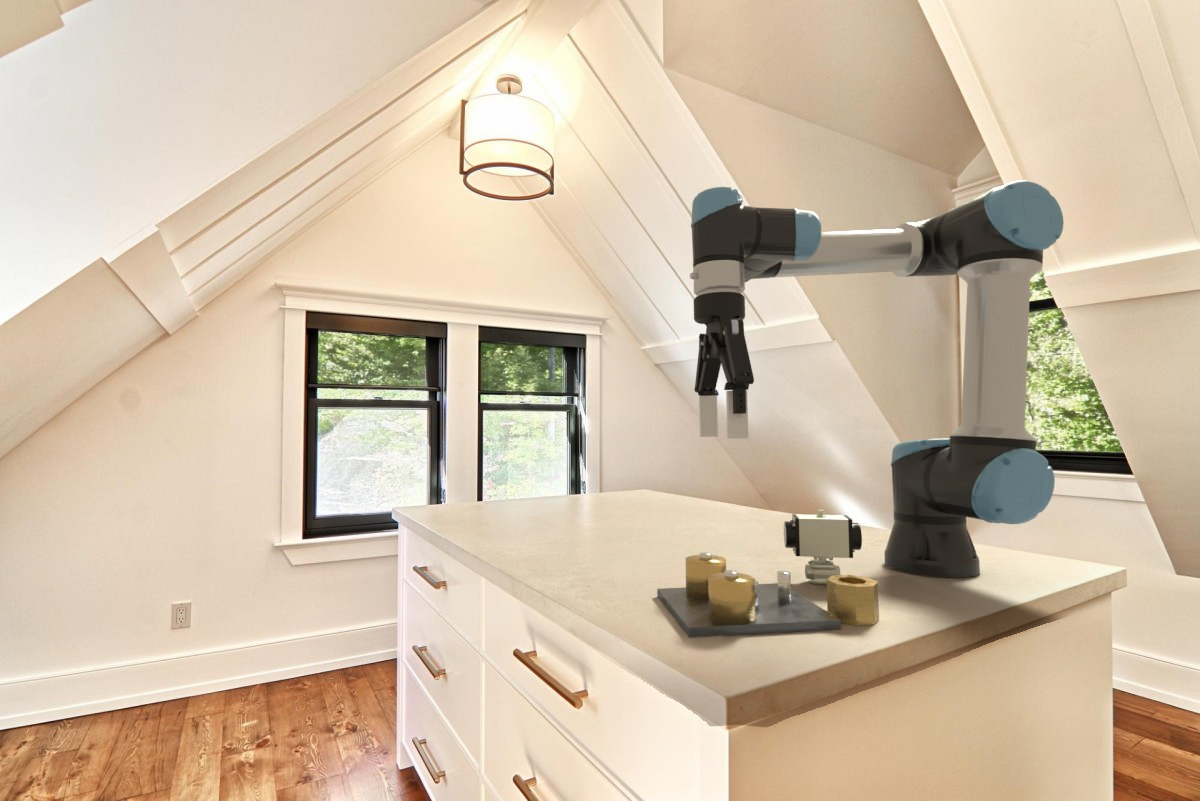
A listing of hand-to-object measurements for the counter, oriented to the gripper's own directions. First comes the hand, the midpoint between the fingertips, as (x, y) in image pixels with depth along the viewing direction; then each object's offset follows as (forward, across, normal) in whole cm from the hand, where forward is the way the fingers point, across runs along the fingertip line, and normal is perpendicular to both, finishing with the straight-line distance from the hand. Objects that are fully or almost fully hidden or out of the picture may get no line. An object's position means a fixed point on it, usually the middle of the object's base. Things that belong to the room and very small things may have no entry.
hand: (722, 437), depth 88 cm
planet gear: (+24, +8, +15) cm, 30 cm away
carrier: (+24, +3, +1) cm, 25 cm away
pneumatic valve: (+25, -10, +20) cm, 33 cm away
